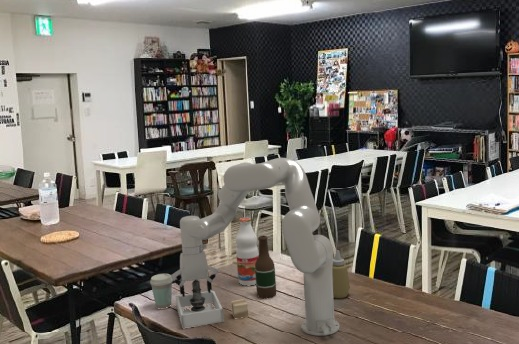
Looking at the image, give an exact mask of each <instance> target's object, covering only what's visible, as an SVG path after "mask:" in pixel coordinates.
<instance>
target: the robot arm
mask: <svg viewBox="0 0 519 344" xmlns="http://www.w3.org/2000/svg"><path fill="white" fill-rule="evenodd" d="M222 179H223V183H224V184H223V186H222V187H221V188H220V189H219V191H218V194H217V196H218V199H219V201H220V203H219V205H218V206H217V208H215V210H214V212H213V213H212V214H210V215H207V216H205V217H202V218H200V217H199V216H198V215H186V216H183V217H181V218H180V220H179V228H180V238H181V239H180V240H181V249H182V251H181V252H180V255H179V269H178V270H177V271H175V272H174V273H172V274H170V275H171V278H172V280H173V282H174V283H175V284H176V285H178V287H179V293H180V295H182V296H183V297H184V296H185V295H186V293H185V285H184V284H185V283H186V282H191V281H194V280H198V281H199V280H203V279H204V280H206V288H207V289H206V291H208V293H211V292H210V291H213V289H212V288H213V287H212V286H213V285H212V282H213V280H214V279H215V278H216V276H217V273H218V270H219V269H218V268H216V267H213V266H211V265H208V260H207V255H206V251H205V249H207V244H203V241H204V240H209V239H211V238H214V237H215V236H217V235H218V234H221V233H223V232H224V231H225V230H226V229H227V227H229V225H230V224H231V223H232V221H233V220H234V219H235V217H236V215H237V212H238V210H239V207H240V205H241V203H242V202H243V201H244V200H245V198H246V197H247V195H248V194H249V192H250V191H260V190H268V189H271V188H274V187H277V186H279V185H281V184H282V185H284V193H285V194H284V195H285V200H286V202H287V205H288V208H289V211H288V212H287V213H286V214H284V217H283V218H282V221H281V231H282V235H283V239H284V242H285V244H286V247H287V251H288V254H289V256H290V259H291V262H292V265H293V266H294V267H295V269H296V270H297V271H298V272H301V273H302V274H303V291H304V292H303V293H304V294H303V295H304V311H305V320H304V321H303V322H302V323H301V330H302V331H303V332H304V333H305V334H308V335H311V336H317V337H318V336H320V337H323V336H324V337H325V336H329V335H332V334H335V333H337V332H338V331H339V329H340V323H339V321H337V320H336V319H335V306H334V305H335V304H334V297H333V278H332V265H333V259H334V247H333V244H332V241H331V240H330V239H329V238H328V237H326V236H325V235H323V234H315V235H314V234H313V233H314V232H315V231H316V230H317V229H318V228H319V226H320V225H321V218H320V214H319V213H320V212H319V211H318V208H317V205H316V201H315V199H314V195H313V193H312V192H313V191H312V190H311V187H310V183H309V180H308V177H307V174H306V172H305V170H304V168H303V167H302V165H301V164H300V163H298V161H295V160H294V159H292V158H288V157H277V158H274V159H270V160H267V161H264V162H261V163H251V162H239V163H238V164H235V165H231V166H229V167H228V168H227V169H226V171H224V174H223V178H222ZM209 271H211V272H212V274H211V275H210V276H209V274H210V273H209ZM178 276H180V279H178V278H177V277H178Z"/></svg>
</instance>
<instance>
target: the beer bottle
mask: <svg viewBox="0 0 519 344" xmlns="http://www.w3.org/2000/svg"><path fill="white" fill-rule="evenodd" d="M268 239H269V238H268V236H267V235H260V236H257V241H258V252H259V257H258V259H257V260H256V263H255V274H256V285H255V287H256V295H257V297H258V296H259V297H260V299H264V298H265V299H264V300H268V299H273V298H274V297H276V295H277V280H276V269H275V268H276V267H275V263H274V260H273V259H272V257H271V256H270V252H269V245H268ZM259 297H258V298H259ZM267 298H268V299H267Z"/></svg>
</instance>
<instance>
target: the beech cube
mask: <svg viewBox="0 0 519 344" xmlns="http://www.w3.org/2000/svg"><path fill="white" fill-rule="evenodd" d="M230 302H231V303H230V304H231V315H232V314H233V315H232V316H234V317H233V318H239V319H242V318H241V317H246V318H249V307H248V305H249V304H248V303H247V301H246V299H245V298H242V299H236V300H231V301H230Z"/></svg>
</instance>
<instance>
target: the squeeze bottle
mask: <svg viewBox="0 0 519 344" xmlns="http://www.w3.org/2000/svg"><path fill="white" fill-rule="evenodd" d="M332 278H333V298H335V299H344V298H347V297H348V295H349V291H350V288H351V286H350V285H351V284H350V280H349V279H350V278H349V271H348V266H347V264H346V263H345V259H344V258H342V256H341V252H340V250H337V249H336V251H335V255H334V258H333V265H332Z"/></svg>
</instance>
